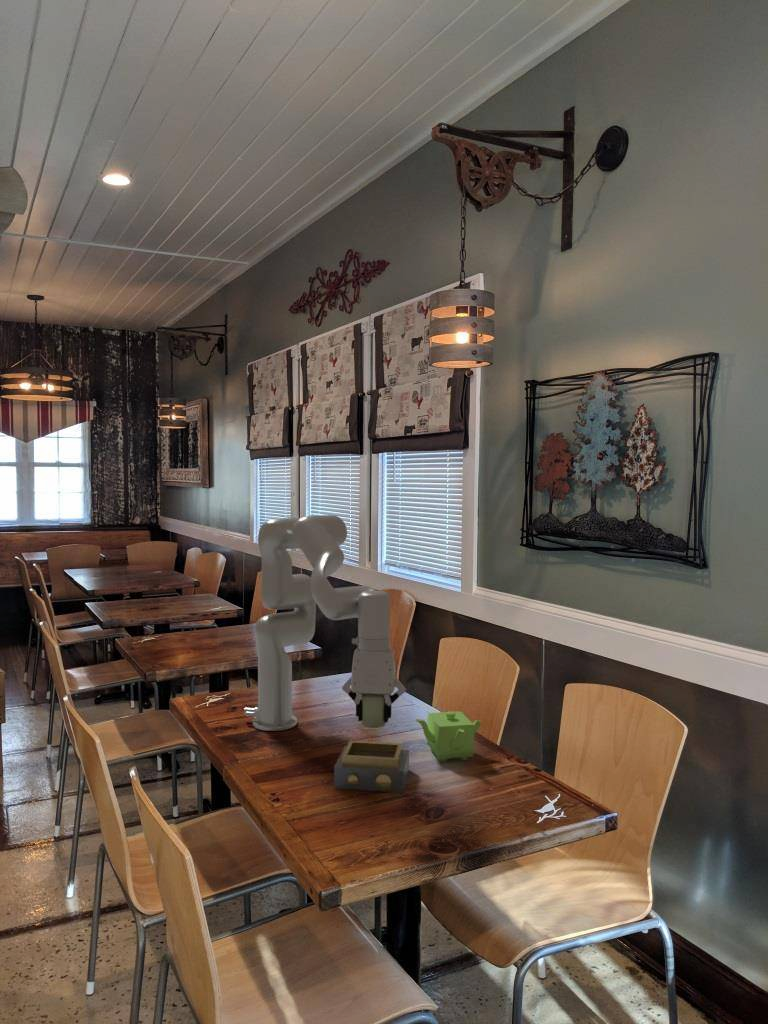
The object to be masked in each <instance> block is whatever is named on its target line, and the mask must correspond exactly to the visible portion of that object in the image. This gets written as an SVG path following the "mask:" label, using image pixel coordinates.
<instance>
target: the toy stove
mask: <svg viewBox="0 0 768 1024" xmlns="http://www.w3.org/2000/svg"><path fill="white" fill-rule="evenodd" d="M403 746H404V745H403V743H397V742H395V743H393V742H379V741H364V740H363V741H362V740H361V741H360V740H349V741H348V743H347V745H344V746H343V748H342V750H341V751H340V754H339V756H338V758H337V759H336V760H337V761H336V763H335V764H334V766H333V787H334V788H333V789H339V790H356V791H368V792H370V791H371V792H385V793H388V792H389V793H398V794H403V793H404V792H405V788H406V785H407V779H408V775H409V772H410V750H409V749H403Z"/></svg>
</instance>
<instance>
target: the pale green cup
mask: <svg viewBox="0 0 768 1024" xmlns="http://www.w3.org/2000/svg"><path fill="white" fill-rule="evenodd" d="M361 699H362V721H361V725H362V726H363V727H365V728H370V729H371V728H372V729H374V728H375V729H376V728H377V729H378V728H381V727H384V726H385V725H386V723H385V722H384V706H385V703H386V701H385V698H384V695H378V694H362V698H361Z"/></svg>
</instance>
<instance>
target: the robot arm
mask: <svg viewBox="0 0 768 1024" xmlns="http://www.w3.org/2000/svg"><path fill="white" fill-rule="evenodd" d="M346 525H347V524H346V523H345V522H344V520H343V519H342V518H340V517H339V516H337V515H335V514H327V515H326V514H323V515H322V514H321V515H306V516H302V517H285V518H274V519H270V520H267V521H265V522H264V523H262V524H261V526H260V527H259V530H258V536H257V541H258V542H257V543H258V550H259V552H260V558H261V574H260V575H261V576H260V577H261V579H260V581H261V583H260V585H261V586H260V587H261V588H260V598H261V599H260V600H261V604H262V606H263V607H264V608H265V609H267V610H271V611H279V610H287V609H289V610H290V609H293V611H287V612H278V613H271V614H266V615H264V616H261V617H260V618H258V620H257V621H256V622H255V624H254V631H253V632H254V638H255V642H256V643H255V644H256V650H257V701H258V702H257V706H256V707H255V708H254V707H245V708H243V714H244V715H245V717H249V718H250V717H251V718H252V717H253V719H252V727H254V728H255V729H258V730H261V731H266V732H278V731H285V730H288V729H289V730H290V729H292V728H294V727H295V726H297V724H298V718H297V717H296V716H295V715H293V713H292V712H293V710H292V709H293V706H292V705H293V700H292V699H293V664H292V659H291V657H290V656H289V655H288V653H287V652H286V650H285V647H287V648H288V647H292V646H298V645H302V644H303V645H304V644H307V643H308V642H310V641H312V639H313V637H314V635H315V632H316V618H317V617H316V615H317V614H316V612H317V606H318V609H319V610H320V611H321V613H322V614H323V615H324V616H325V617H326V618H327V619H329V620H332V621H341V620H346V619H347V620H348V619H353V618H355V619H356V618H357V637H355V638H353V637H352V638H351V645H356V647H357V648H355V649H354V652H353V658H352V665H351V676H350V678H348V679H347V681H346V682H345V683H344V684H343V685H342V686H341V690H343V692H345V693H346V694H347V695H348V697H350V699H351V700H352V701H353V702H354V704H355V717H358V719H357V720H358V722H362V694H378V695H384V698H385V706H384V722H385V724H388V722H389V719H392V704H394V703H395V702H396V701H397V700H398V698H400V697H401V696H402V695H403V694H405V692H406V691H407V688H406V687H405V686H404V684H402V682H401V681H400V680H399V678H398V677H397V675H396V661H395V660H396V659H395V655H394V650H393V649H392V648H391V595H390V594H389V593H388V592H386V591H383V590H377V589H375V588H374V587H372V586H369V585H357V586H356V585H355V586H353V585H352V586H344V587H336V588H334V586H332V584H331V583H330V581H329V580H328V577H330V576H331V575H333V574H334V573H335V572H336V571H338V570H339V569H340V568H341V566H342V565H343V563H344V562H345V561H344V560H345V554H344V551H343V550H342V549H341V547H340V546H341V545H343V544H344V543H345V541H346V540H347V537H348V536H347V535H348V529H347V526H346ZM292 549H298V550H299V549H300V550H301V551H302V552H303V555H304V556H305V557H306V559H307V560H308V562H309V564H310V565H311V567H312V568H313V569H312V572H311V576H309V575H308V574H305V573H297V574H293V559H292V556H291V555H290V553H289V551H288V550H292ZM395 689H397V690H396V691H395ZM394 691H395V692H394Z"/></svg>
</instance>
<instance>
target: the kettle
mask: <svg viewBox="0 0 768 1024" xmlns="http://www.w3.org/2000/svg"><path fill="white" fill-rule="evenodd" d="M414 721H415V722H417V723H419V724H420V726H421V727H422V730H423V734H424V737H425V738H426V739H425V740H427V745H428V747H429V748H430V749H431V751H432V754H434V755H435V756H436V758H437V760H438V762H441V763H445V762H448V759H458V760H460V761H467V760H468V759H469V758H473V757H474V752H475V750H474V746H475V745H474V742H475V741H474V740H475V739H474V738H475V734H476V732H478V730H479V728H480V726H481V725H482V723H483V722H482V721H481V720H479V719H475V720H473V722H472V721H471V720H470V719H469V718H468V717H467V716H466V714H464V713H463V712H462V711H457V710H456V711H452V710H451V711H442V712H428V713H427V722H426V721H425V720H424V719H423V718H422V719H421V718H419V719H417V718H416V719H414Z"/></svg>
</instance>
